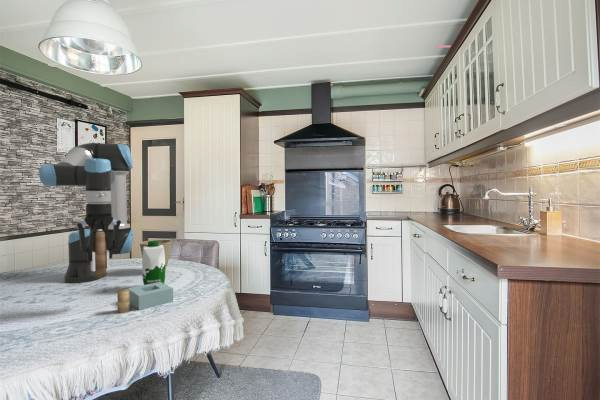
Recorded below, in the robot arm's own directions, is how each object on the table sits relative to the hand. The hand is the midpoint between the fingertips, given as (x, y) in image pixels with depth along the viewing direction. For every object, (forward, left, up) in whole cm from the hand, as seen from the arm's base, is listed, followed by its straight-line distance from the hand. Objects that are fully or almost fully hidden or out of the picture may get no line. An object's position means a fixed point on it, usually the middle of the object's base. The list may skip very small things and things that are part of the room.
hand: (100, 269), depth 108 cm
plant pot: (-36, +33, -14) cm, 51 cm away
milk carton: (-10, +22, -14) cm, 28 cm away
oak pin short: (+8, +5, -14) cm, 17 cm away
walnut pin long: (0, 0, -3) cm, 3 cm away
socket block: (+5, +15, -14) cm, 21 cm away
